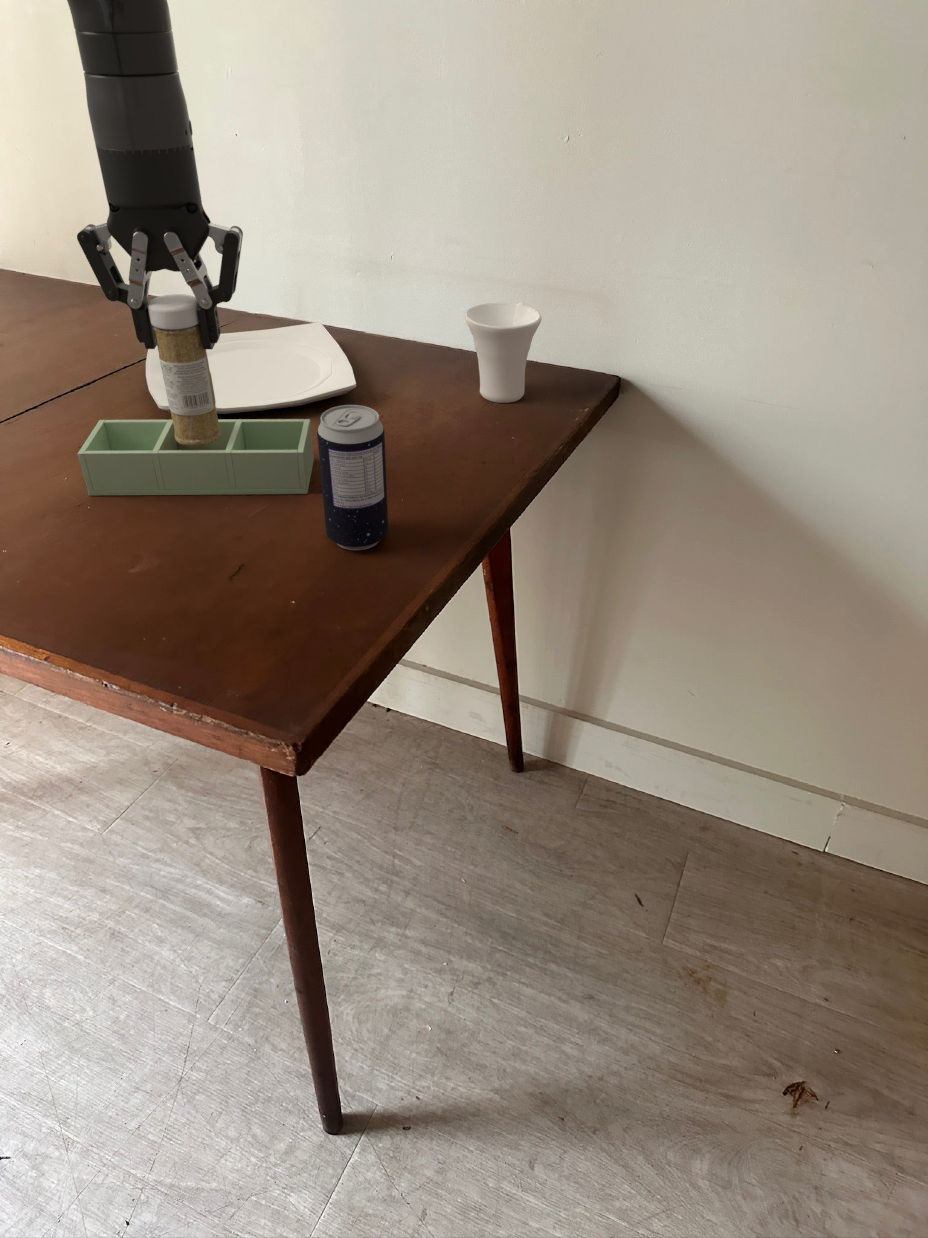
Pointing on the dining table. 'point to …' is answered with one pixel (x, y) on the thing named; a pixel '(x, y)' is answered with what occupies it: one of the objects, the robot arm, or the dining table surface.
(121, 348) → the dining table surface
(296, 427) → the tray
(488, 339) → the cup
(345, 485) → the beverage can
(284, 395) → the plate
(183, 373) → the spice jar
